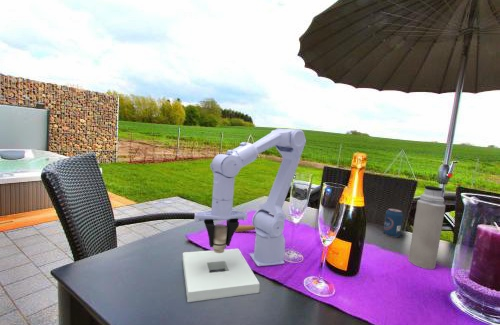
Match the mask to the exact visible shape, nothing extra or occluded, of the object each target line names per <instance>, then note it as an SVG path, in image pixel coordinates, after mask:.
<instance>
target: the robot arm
mask: <svg viewBox="0 0 500 325" xmlns="http://www.w3.org/2000/svg"><path fill="white" fill-rule="evenodd" d="M306 143H307V140H306V136H305V132H304V131H303V130H302V129H301V128H281V127H278V128H276V129H273V130H271V131H270V132H269V133H268V134H266V135H264V136H263V137H261V138H260V139H258V140H257V141H254V143H250V142H245V141H242V142H240V143H239V146H237V147H235V148H233V149H228V150H227V151H226V153H219V154H217V155H215V156H214V158H213V159H212V161H211V163H209V164H210V166H209V167H210V169H211V171H212V173H213V176H212V177H213V182H212V184H213V185H212V198H211V200H212V201H211V210H210V211H208V210H207V211H200V212H194V219H193V220H194V222H195V223H199V222H203V223H204V225H205V228H206V231H207V232H206V233H207V236H208V244H209V247H210V248H212V247H213V235H214V229H215V225H216V224H215V222H214V221H226V226H227V244H226V247H229V246H230V245H231V241H232V240H233V236H234V234H235V233H236V232H235V230H236V229H237V228H238V226H239V225H240V222H239V221H241V220H243V221H248V213H247V212H246V211H237V210H236V211H235V210H233V205H234V191H235V182H236V181H235V179H236V178H235V177H236V176H238V175H239V174H240V173H239V172H240V171H241V169H242V168H244V167H246V166H247V165H249V164H251V163H253V162H254V161H256V160H257V158H258V155H259V154H261V153H263V152H265V151H267V150H270V149H271V148H275V149H276V150H277V151H278V153H279V154H280V155H281V158H282V159H281V160H282V161H281V163H280V166H279V168H278V171H277V173H276V176H275V179H274V181H273V183H272V187H271V188H270V190H269V194H268V197H267V199H266V201H265V202H264V203H262V204H260V205H259V206H258V209H257V210H256V212H254V214H253V215H252V219H251V222H252V224H251V225H253V226H254V227H255V230H254V231H255V240H254V248H253V249H254V252H250V253H249V256H250V258H251V259H252V261H253V262H254V263H255V266H256V267H265V266H274V265H275V266H276V265H284V264H285V260H284V259H285V252H286V251H285V250H286V239H285V235H284V234H283V232H284V229H285V220H286V218H287V216H286V213H285V212H284V210H283V205H284V204H285V201H286V199H287V196H288V193H289V190H290V187H291V185H292V182H293V179H294V177H295V174H296V172H297V168H298V167H299V163H300V161H301V156H302V154H303V151H304V148H305V146H306Z"/></svg>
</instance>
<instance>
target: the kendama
mask: <svg viewBox="0 0 500 325" xmlns="http://www.w3.org/2000/svg"><path fill="white" fill-rule="evenodd" d="M248 231H255V227H254V226H253V224H239V226H238V228H237V229H236V230H235V232H234V233H239V232H241V233H242V232H248Z"/></svg>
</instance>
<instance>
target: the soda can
mask: <svg viewBox="0 0 500 325" xmlns="http://www.w3.org/2000/svg"><path fill="white" fill-rule="evenodd" d="M403 219H404V214H403V210H401V209H398V208H391V207H390V208H387V210H386V212H385V218H384V225H383V234H384V235H385V236H387V237H391V238H399V237H400V236H401V232H402V227H403Z"/></svg>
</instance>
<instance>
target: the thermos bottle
mask: <svg viewBox="0 0 500 325" xmlns="http://www.w3.org/2000/svg"><path fill="white" fill-rule="evenodd" d="M442 193H443V188H441V187H438V186H433V185H424V190H423V193H421V194H420V197H419V199H418V200H417V202H416V209H415V214H414V221H413V227H412V234H411V241H410V245H409V246H410V247H409V252H408V262H410V264H412V265H415V266H416V267H419V268H422V269H426V270H434V269H435V268H436V266H437V265H436V264H437V259H438V252H439V247H440V241H441V235H442V231H443V230H442V229H443V223H444V217H445V212H446V204H445V203H444V202H445V198H444V197H443V196H442V195H443V194H442Z"/></svg>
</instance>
